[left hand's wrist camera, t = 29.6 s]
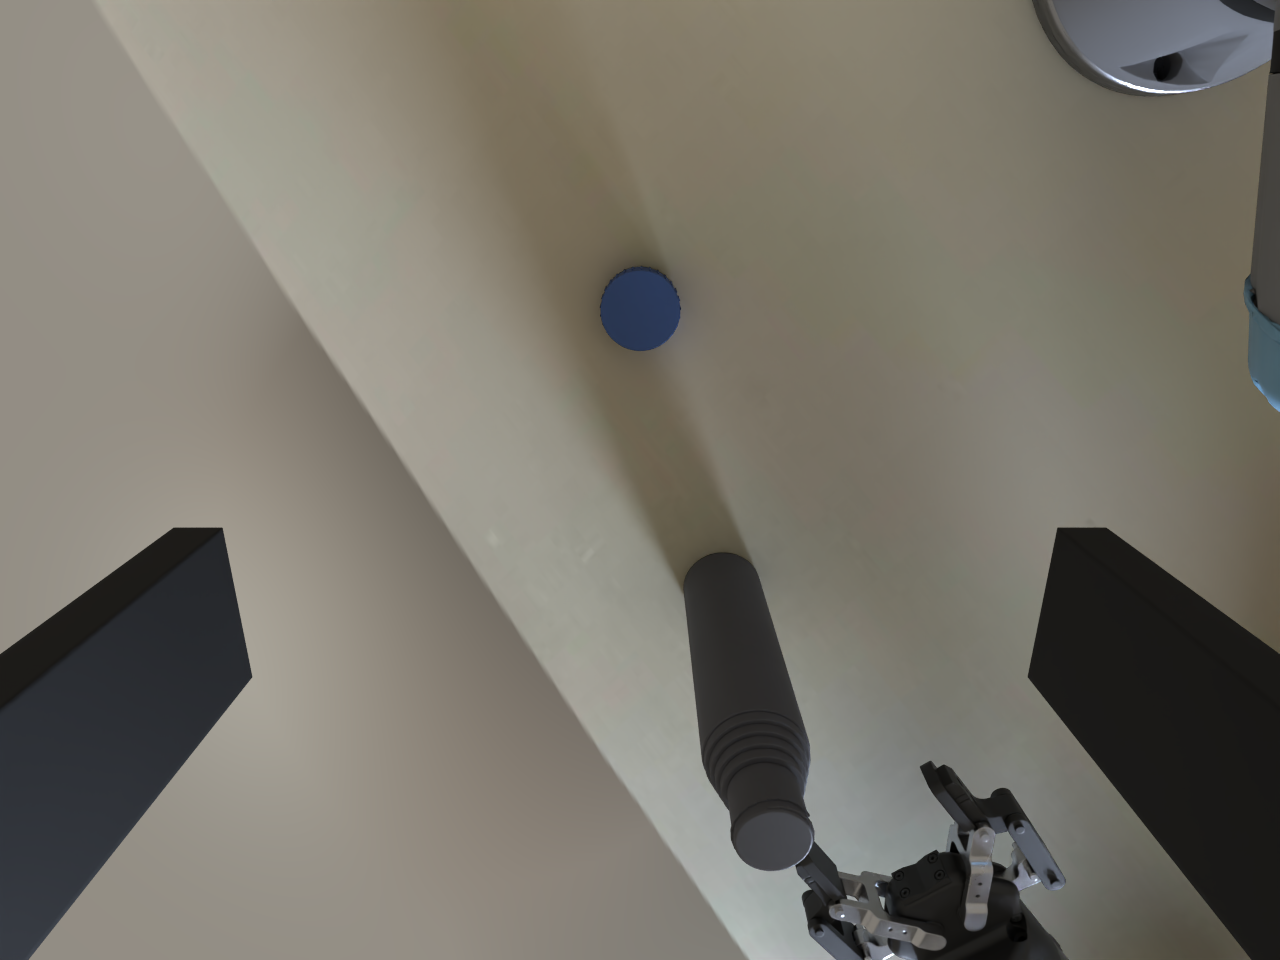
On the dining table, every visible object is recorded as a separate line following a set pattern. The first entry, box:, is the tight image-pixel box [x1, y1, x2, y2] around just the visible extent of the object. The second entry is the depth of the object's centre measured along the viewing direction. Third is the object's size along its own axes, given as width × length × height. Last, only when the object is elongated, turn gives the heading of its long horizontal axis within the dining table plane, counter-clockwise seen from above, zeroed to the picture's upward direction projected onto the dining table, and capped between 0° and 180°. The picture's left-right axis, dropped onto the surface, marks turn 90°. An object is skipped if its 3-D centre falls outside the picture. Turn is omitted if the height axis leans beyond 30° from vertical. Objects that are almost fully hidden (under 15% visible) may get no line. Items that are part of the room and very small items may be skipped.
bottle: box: [684, 553, 814, 871], centre depth 41 cm, size 5×5×21 cm
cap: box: [600, 266, 681, 351], centre depth 44 cm, size 4×4×2 cm
